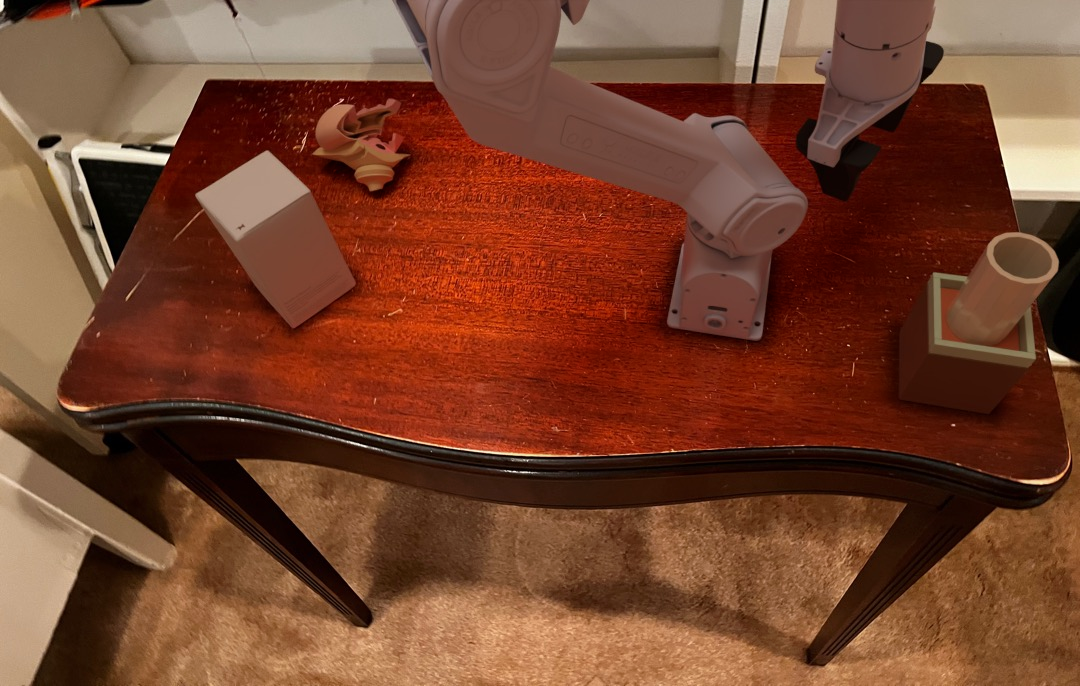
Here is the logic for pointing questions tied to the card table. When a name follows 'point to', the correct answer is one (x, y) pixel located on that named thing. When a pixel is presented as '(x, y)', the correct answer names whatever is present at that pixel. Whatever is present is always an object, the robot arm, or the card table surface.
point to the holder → (957, 355)
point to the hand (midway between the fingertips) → (859, 159)
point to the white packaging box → (278, 237)
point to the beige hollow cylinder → (1001, 288)
